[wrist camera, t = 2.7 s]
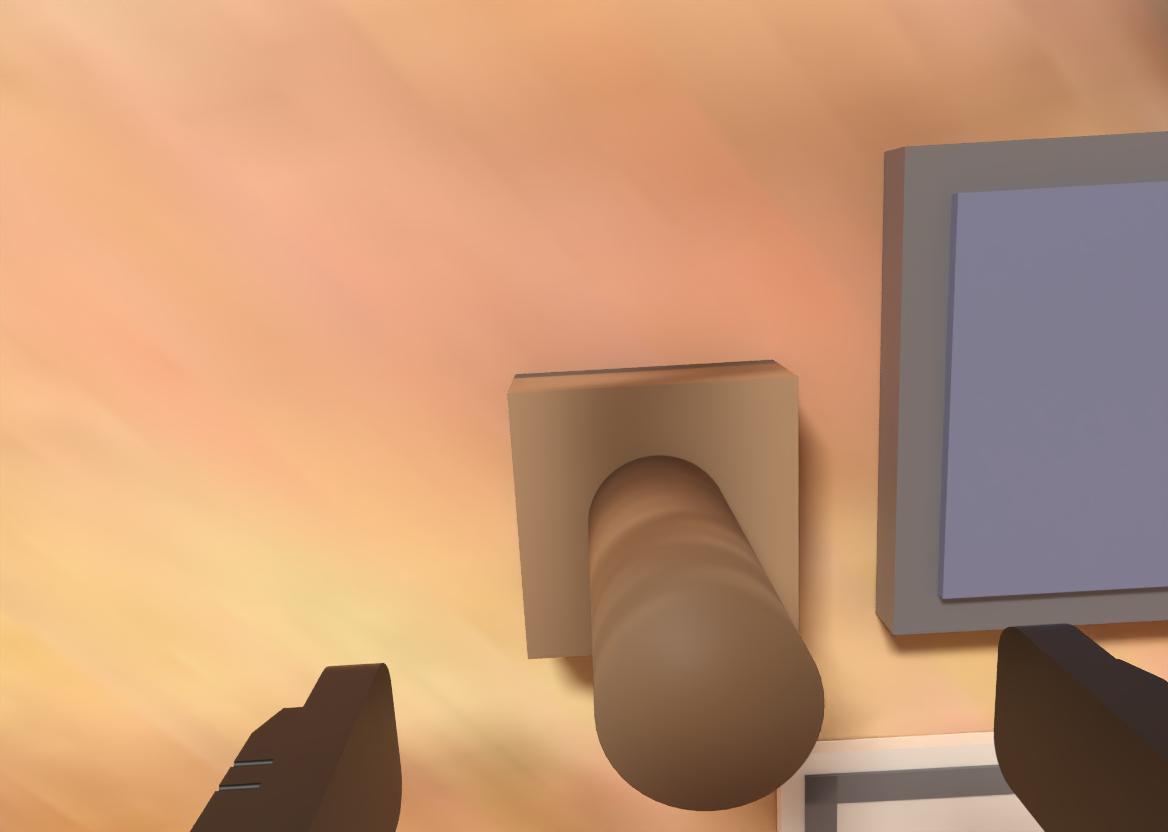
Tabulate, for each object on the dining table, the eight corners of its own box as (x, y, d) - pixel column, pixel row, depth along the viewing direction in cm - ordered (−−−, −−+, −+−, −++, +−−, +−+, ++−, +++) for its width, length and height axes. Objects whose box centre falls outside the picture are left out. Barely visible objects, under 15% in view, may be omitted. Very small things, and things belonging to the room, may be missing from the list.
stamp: (772, 359, 20) (947, 476, 10) (774, 597, 21) (932, 894, 12) (515, 374, 20) (459, 503, 10) (533, 611, 21) (497, 917, 12)
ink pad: (1384, 122, 19) (1454, 113, 17) (1318, 588, 21) (1375, 615, 19) (884, 151, 19) (911, 144, 17) (875, 612, 21) (898, 641, 20)
